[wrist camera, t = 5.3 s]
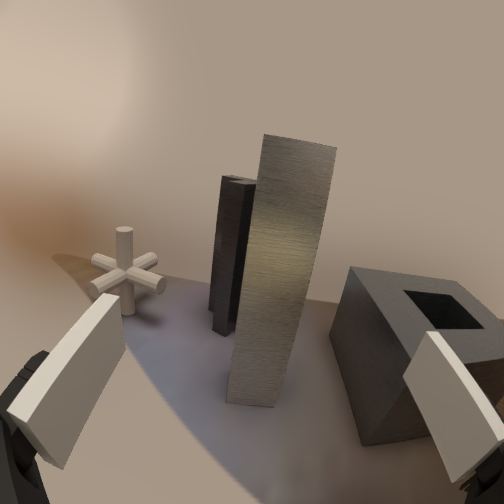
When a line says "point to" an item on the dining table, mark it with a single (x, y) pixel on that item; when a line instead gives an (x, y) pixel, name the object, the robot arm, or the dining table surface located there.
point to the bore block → (407, 346)
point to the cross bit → (230, 250)
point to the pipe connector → (125, 272)
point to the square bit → (278, 264)
